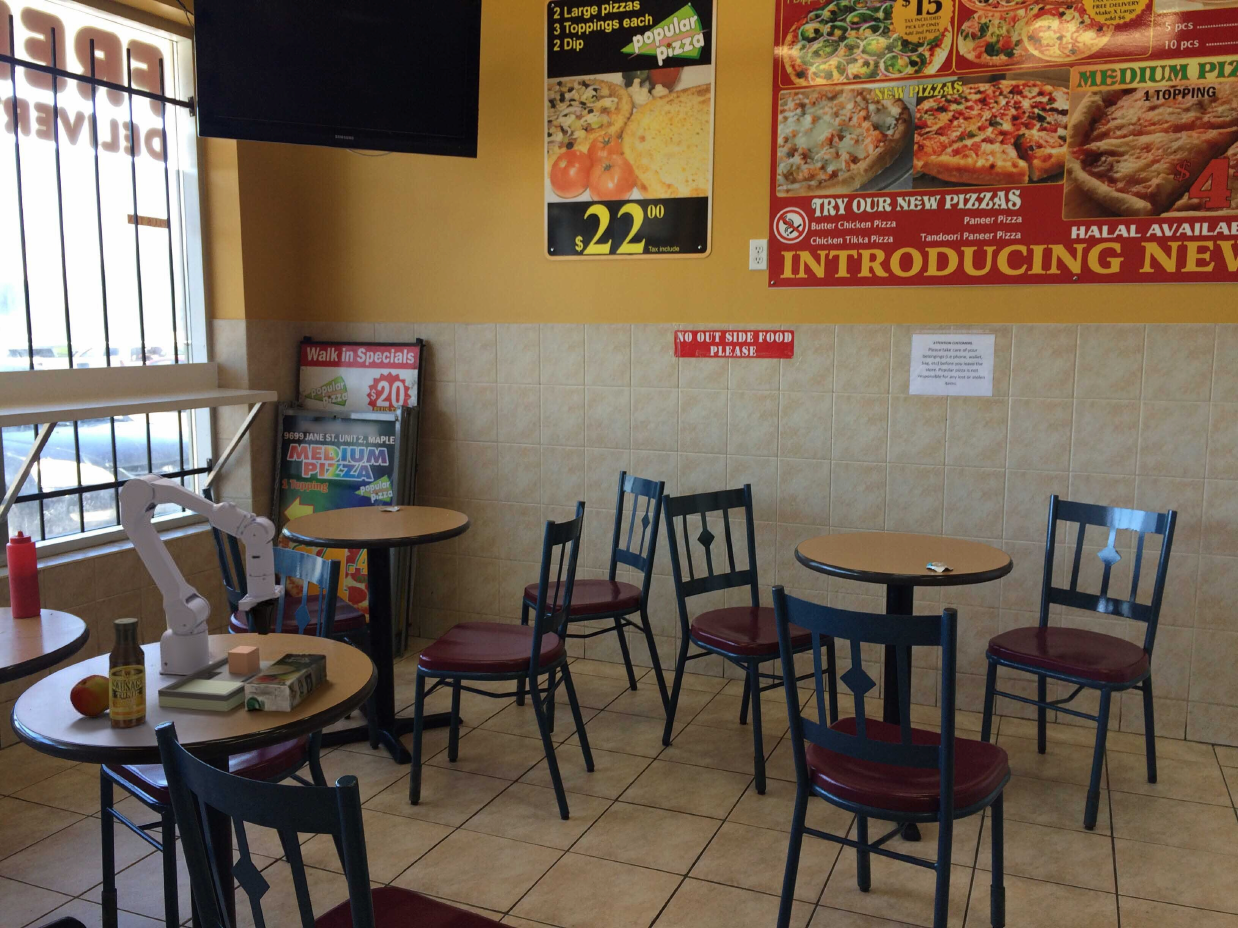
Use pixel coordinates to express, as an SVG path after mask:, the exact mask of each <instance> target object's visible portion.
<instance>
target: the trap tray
mask: <svg viewBox="0 0 1238 928" xmlns="http://www.w3.org/2000/svg"><path fill="white" fill-rule="evenodd" d="M212 662H213V663H211V664H209V665H207V666H205V667H203V668H201V669H199V670H197V671H195V672H193V673H191V674H189V675H184V676H183V677H181V678H179V679H177V680H176V681H173V682H171V683H170V684H167V685H166V686H163V687H162V688H160V689H158V690H157V694H158V695H157V697H158V698H157V699H158V707H166V708H167V707H168V708H179V709H192V710H193V709H194V710H202V711H203V710H204V711H205V710H206V711H216V712H229V711H230V710H232V709H234V708H235V707H236V706H238V705H240V704H241V703H243V702H245V699H246V696H245V688H244V686H245V684H246V683H248V682H249V681H251V680H252V679H254V678H255V677H256V676H258V675H259V674H261V673H262V672H263V671H265V670H266V669H267V668H268V667H270V666H271V665H272V664H274V663H275V662H276V661H268V660H267V661H266V660H260V668H258V669H256V670H254V671H253V672H251V673H249V674H240V673H229V667H228V654H226V655H223V657H220V658H219V659H217V660H215V661H212Z"/></svg>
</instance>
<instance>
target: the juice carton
mask: <svg viewBox="0 0 1238 928" xmlns="http://www.w3.org/2000/svg"><path fill="white" fill-rule="evenodd" d="M274 662H275V663H274V664H272V665H271V666H270V667H268V668H267V669H266V670H265V671H263V672H262V673H261V674H259V675H258V676H256V677H255V678H254V679H252V680H251V681H249V682H248V683H246V684H245V686H244V688H245V696H246V699H245V701H244V705H245V706H244V707H245V711H250V710H255V709H258V710H260V711H265V712H287V713H288V712H291V711H292V710H293V709H295V707H296V706H298V705H300V704H301V703H302V701H304V700H305V699H306V698H307V697H308V696H309V695H310V694H311V693H313V692H314V691H315V690H316V689H318V688H319V687H320V686H322V684H324V683H325V682H326V681H327V678H328V674H327V655H326V654H318V653H316V654H314V653H307V654H306V653H301V654H300V653H286V654H284V655H283V656H282V657H281V658H280V659H278V660H276V661H274ZM324 681H325V682H324ZM319 685H320V686H319ZM317 687H318V688H317Z"/></svg>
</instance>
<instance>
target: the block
mask: <svg viewBox="0 0 1238 928" xmlns="http://www.w3.org/2000/svg"><path fill="white" fill-rule="evenodd" d="M227 655H228V667H229V673H240V674H249V673H251V672H253V671H254V670H256V669H258V668H260V661H261V659H260V647H259V646H249V645H239V646H237V647H235V648H232V649H231V650H229V651H227Z"/></svg>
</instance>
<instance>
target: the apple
mask: <svg viewBox="0 0 1238 928" xmlns="http://www.w3.org/2000/svg"><path fill="white" fill-rule="evenodd" d="M69 699H70V700H69V701H70V704H71V705H72V707H73V709H74V710H75V711H76V712H77V713H79V714H80V715H81V716H85V717H87V718H95V717H98V716H100V715H101V714H103V713H104V712H107V711H108V710H109V677H107V676H104V675H101V674H92V675H89V676H86V677H85V678H83V679H81V680H79V681H78V682H77V683H76V684H75V685H74V686H73V687H72V688H71V691H70V695H69Z"/></svg>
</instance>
